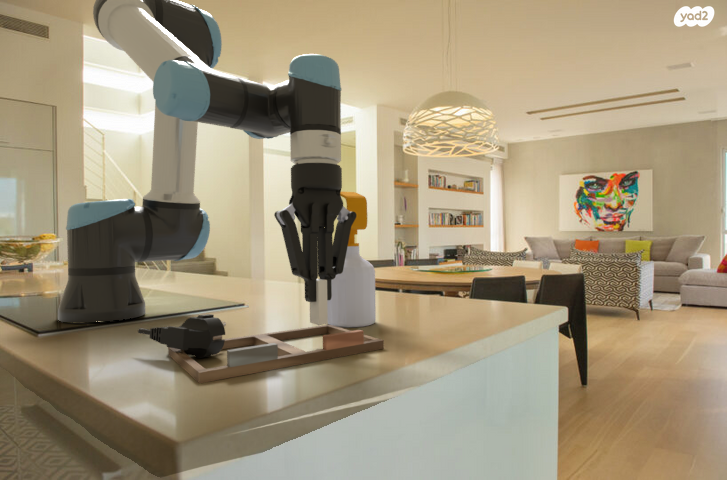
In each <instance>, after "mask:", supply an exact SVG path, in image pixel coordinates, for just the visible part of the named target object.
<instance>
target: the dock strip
mask: <svg viewBox="0 0 727 480" xmlns="http://www.w3.org/2000/svg"><path fill="white" fill-rule="evenodd" d="M318 335H319V336H320V335H322V348H321V349H315V350H314V349H313V350H309V351H306V350H303V349H301V348H299V347H297V346H294V345H291V344H289V343H286V342H284V341H285V340H292V339H298V338H300V339H301V338H305V337H312V336H318ZM222 339H223V340H225V343H224V345H223V347H222V349H221V350H226V349H227V350H226V365H222V366H216V367H209V368H205V367H204V366H202V365H201V364H200V363H198V362H197V361H196V360H195V359H194V358H192V357H191V356H190V355H187V354H186V353H185V351H184V350H181V349H175V348H170V347H167V353H168V354H167V355H168V356H169V357H170V358H172V359H173V361H174V362H175V363H177V364H178V365H179V366H180V367H181V368H182V369H183V370H185V372H187V373H188V374H189V375H190V376H191V377H192V378H193V379H194V380H195V381H197V382H198V383H199V384H204V383H208V382H210V383H211V382H214V381H218V380H225V379H231V378H235V377H241V376H245V375H251V374H255V373H256V374H257V373H261V372H266V371H268V372H269V371H272V370H278V369H282V368H283V369H285V368H288V367H294V366H298V365H304V364H309V363H314V362H320V361H324V360H325V361H326V360H331V359H336V358H341V357H346V356H353V355H357V354H363V353H367V352H373V351H378V350H383V349H384V348H385V347H384V346H385V345H384V344H385V343H384V339H381V338H377V337H374V336H370V335H367V334H364V330H361V329H356V330H350V329H347V328H345V327H337V326H333V325H329V324H324V325H317V326H310V327H309V326H308V327H303V328H301V327H300V328H295V329H289V330H281V331H280V330H279V331H275V332H266V333H259V334H252V335H244V336H238V337H232V338H231V337H230V338H225V339H224V338H222Z"/></svg>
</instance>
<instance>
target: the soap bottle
mask: <svg viewBox="0 0 727 480" xmlns="http://www.w3.org/2000/svg"><path fill="white" fill-rule="evenodd" d="M340 195H341V198H344V199H345V202H346V209H347V210H349V211H350V212H355V213H356V215H357V216H356V219H355V221H354V222H353V224H352V226H351V231H350V236H349V241H348V247H347V252H346V258H345V263H344V268H343V272H342V273H341V274H337V275H336V277H335V278H334V279H332V280H331V286H332V292H331V293H332V297H331V300H327V311H328V324H327V325H333V326H337V327H340V328H345V329H347V328H348V329H349V328H351V329H352V328H363V327H368V326H371V325H373V324H374V323H376V313H377V312H376V270H375V267H374V265H373V264H372V263H370V261H369V260H367V259H365V258H363V257H362V256H361V254H360V243H359V242H356V241H355V239H356V238H355V236H356V235H358V231H359V230H360V231H361V230H365V229H366V228H367V227H368V202H367V201H368V200H367V198H366V196H364V195H363V194H360V193H358V192H354V191H341V193H340Z"/></svg>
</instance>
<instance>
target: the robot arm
mask: <svg viewBox="0 0 727 480" xmlns="http://www.w3.org/2000/svg"><path fill="white" fill-rule="evenodd" d="M92 15H93V21H94V24H95V27H96V29H97V30H98V32H99V34H100V35H101V36H102V38H104V40H105V41H106V42H107V43H108V44H110V45H111V46H112V47H113V48H115V49H117V50H120V51H123V52H125V53H126V55H128V57H129V58H130V59H131V60H132V61H133V62H134V63H135V64H136V65H137V66H138V67H139V68H140V70H141V71H143V73H144V74H145V75H146V76H147V77H148V78H149V79H150V80H151V81H152V95H153V99H154V101H155V102H154V103H155V104H154V122H153V123H154V124H153V125H154V126H153V139H152V141H153V147H152V164H151V165H152V166H151V180H150V181H151V183H150V184H151V185H150V188H151V189H150V190H149V192H147V193H145V195H144V196H142V205H141V206H138V205H136V202H135V201H134V198H133V199H132V198H121V199H109V200H97V201H87V202H78V203H74V204H72V205H71V206H70V207H69V208H68V210H67V217H66V226H65V230H66V235H67V236H66V238H67V240H66V241H67V242H66V243H67V282H66V284H65V288H64V291H63V294H62V297H61V299H60V302H59V305H58V308H57V321H58V320H59V321H61V322H60V323H63V322H72V323H71V324H74V323H73V322H96V321H97V322H98V321H110V322H114V321H113V320H119V321H123V319H125V320H130V318H131V319H135V318H138V317H141V316H144V315H145V314H146V301H145V299H144V296H143V293H142V291H141V288H140V285H139V283H138V280H137V276H136V263H142V262H143V263H144V262H157V261H158V262H163V261H173V262H178V261H179V262H180V261H182V260H191V259H194V258H196V257H198V256H199V255H200V254H201V253H202V252H203V251H204V249H205V248H206V246H207V243H208V241H209V237H210V231H211V223H210V220H209V218H210V217H209V215H208V213H207V212H206V211H205V210H204V209H202V208H201V200H200V199H199V198H198V197H197V196H196V195H195V193H194V192H195V191H194V190H195V174H196V173H195V172H196V160H197V159H196V158H197V140H198V138H197V137H198V124H199V123H200V124H201V123H202V124H205V125H206V124H209V125H212V126H219V127H224V128H225V127H226V128H230V129H235V130H241V131H243V132H244V133H245V134H247V135H248V136H249V137H251V138H252V139H256V140H263V139H273V138H277V137H279V136H282V135H285V134H286V135H287V134H289V135H290V144H289V145H290V146H289V147H290V162H292V164H293V165H291V167H290V188H291V197H290V198H289V202H288V205H287V206H286V207H284V208H283V209H281V210H277V211H275V212H274V214H273V215H274V219H276V222H277V223H278V224H279V227H280V228H281V232H282V236H283V241H284V245H285V249H286V254H287V257H288V262H289V266H290V270H291V274H292V275H293V276H296V277H299V278H301V279H302V280H303V282H304V300H305V301H306V302H307V303H309V323H310V324H312V325H313V324H314V325H317V326H322V325H329V324H328V311H327V300H331V297H332V293H331V292H332V286H331V280H332V279H334V278H335V277H336V275H337V274H341V273H342V272H343V268H344V263H345V258H346V252H347V247H348V241H349V236H350V231H351V226H352V224H353V222H354V221H355V219H356V216H357V215H356V213H355V212H350V211H349V210H347V207H345V206H344V201H343V199H342V198H343V197H342V196H341V195H340V193H341V192H342V189H343V176H342V173H343V171H342V170H343V168H342V166H341V165H339V163H341V162H342V131H341V129H342V121H341V119H342V117H341V115H342V113H341V112H342V111H341V110H342V109H341V107H342V106H341V104H342V103H341V100H342V99H341V98H342V97H341V95H342V92H341V91H342V86H341V77H340V75H341V74H340V68H339V65H338V63H337V61H336V60H334V59H333V58H331V57H328V56H326V55H324V54H317V53H315V54H314V53H309V54H307V53H306V54H302V55H297V56H295V57H293V59H291V61H290V62H289V66H288V72H287V76H288V79H287V80H285V81H283V82H280V83H277V84H273V85H267V84H263V83H260V82H256V81H253V80H248V79H245V78H242V77H238V76H234V75H230V74H227V73H224V72H220V71H217V70H215V69H214V68H215V67H216V66H217V64H218V63H219V58H220V57H221V54H222V53H221V52H222V45H223V44H222V34H221V30H220V27H219V24H218V22H217V20H216V19H215V18H214V16H213V15H212V14H211V13H209V12H208V11H205V10H203V9H201V8H199V7H198V6H196V5H194V4H189V3H186V2H183V1H180V0H95V2H94V4H93V9H92ZM295 219H298V221H299V223H300V232H301V235H302V237H301V238H302V239H301V240H302V242H301V241H300V237H299V231H298V227H297V224H296V222H295ZM336 220H337V224H336V227H335V221H336ZM333 234H334V236H333ZM59 321H58V322H59Z"/></svg>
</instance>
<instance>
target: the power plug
mask: <svg viewBox="0 0 727 480" xmlns="http://www.w3.org/2000/svg"><path fill="white" fill-rule="evenodd" d="M214 316H215V315H214V314H209V313H206V314H198V315H197V316H193V317H188V318H187V319H186V320H185V321H184V322H183V323H182V324H181V325H180V326H172V325H171V326H160V327H159V326H158V327H150V329H146V328H142V327H141V328H138V330H137V333H138V334H142V335H147V336H148V335H149V339H151V340H153V341H155V342H157V343H159V344H161V345H166V347H167V348H168V347H170V348H175V349H181V350H184V351H185V353H186V354H187V355H188V356H193V357H195V358H196V359H197V358H198V359H202V358H203V359H204V358H208V357H211V356H215V355H217V354H218V353H220V351H222V350H223V349H222V347H223V345H224V343H225V340H223V339H224V338H223V336H225V335H226V330H225V329H226V328H225V327H226V324H227V323H226V321H224V320H223V321H222V320H221V319H220V318H219V317H214Z"/></svg>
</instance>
